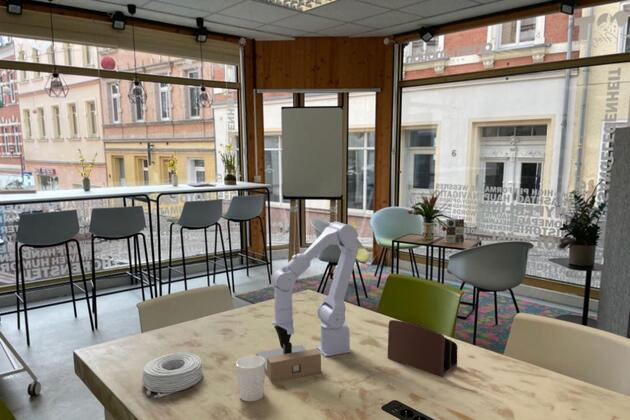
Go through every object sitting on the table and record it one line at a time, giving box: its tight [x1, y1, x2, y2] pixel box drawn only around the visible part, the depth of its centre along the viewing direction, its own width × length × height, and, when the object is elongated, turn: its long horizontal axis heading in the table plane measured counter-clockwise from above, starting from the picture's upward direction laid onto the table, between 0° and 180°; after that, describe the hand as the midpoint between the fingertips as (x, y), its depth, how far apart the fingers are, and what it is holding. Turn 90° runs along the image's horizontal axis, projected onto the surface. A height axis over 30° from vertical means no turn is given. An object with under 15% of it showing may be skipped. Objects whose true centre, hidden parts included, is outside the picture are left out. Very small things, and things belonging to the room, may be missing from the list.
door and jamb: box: [255, 344, 322, 383], centre depth 144 cm, size 18×16×6 cm
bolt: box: [283, 341, 299, 372], centre depth 141 cm, size 10×2×5 cm, turn 21°
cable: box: [141, 351, 204, 399], centre depth 135 cm, size 18×18×6 cm
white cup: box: [235, 354, 266, 402], centre depth 126 cm, size 8×8×10 cm
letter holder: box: [387, 319, 459, 378], centre depth 144 cm, size 10×20×14 cm, turn 47°
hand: (284, 347), depth 147 cm, fingers closed
